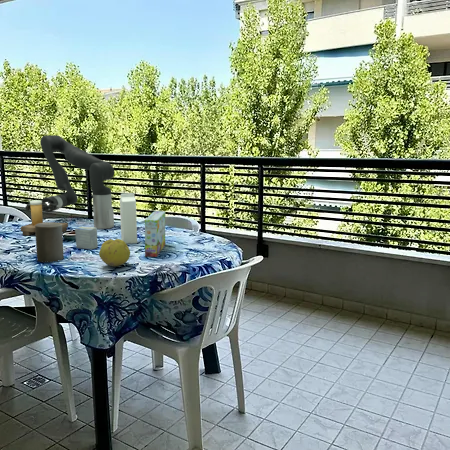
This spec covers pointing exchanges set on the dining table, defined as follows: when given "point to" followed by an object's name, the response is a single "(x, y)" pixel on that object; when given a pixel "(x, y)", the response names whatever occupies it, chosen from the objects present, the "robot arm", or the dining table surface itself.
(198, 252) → the dining table surface
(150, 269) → the dining table surface
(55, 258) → the pillar candle
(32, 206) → the beer glass
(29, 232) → the walnut stand
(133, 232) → the milk
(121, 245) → the fruit
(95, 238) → the medicine box
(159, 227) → the snack box
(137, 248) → the dining table surface
